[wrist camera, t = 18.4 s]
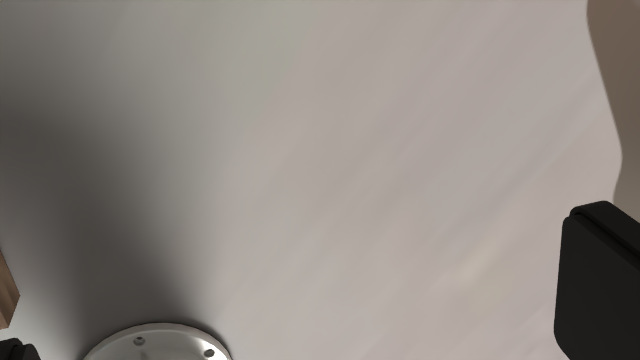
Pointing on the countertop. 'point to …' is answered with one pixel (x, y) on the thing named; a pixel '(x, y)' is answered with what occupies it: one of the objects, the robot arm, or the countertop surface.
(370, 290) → the countertop surface
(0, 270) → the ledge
